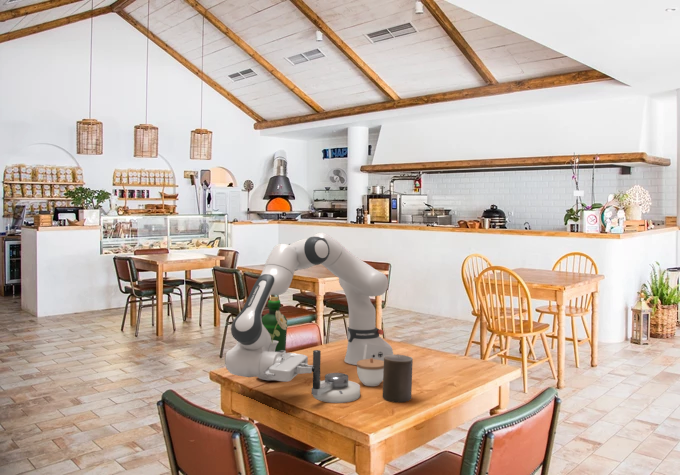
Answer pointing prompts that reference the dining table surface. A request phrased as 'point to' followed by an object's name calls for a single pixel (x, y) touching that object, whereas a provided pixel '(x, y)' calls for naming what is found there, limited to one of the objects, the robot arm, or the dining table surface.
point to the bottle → (271, 321)
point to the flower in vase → (277, 332)
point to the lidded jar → (370, 371)
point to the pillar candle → (397, 378)
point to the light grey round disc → (340, 393)
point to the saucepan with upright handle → (326, 377)
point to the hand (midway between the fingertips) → (313, 369)
